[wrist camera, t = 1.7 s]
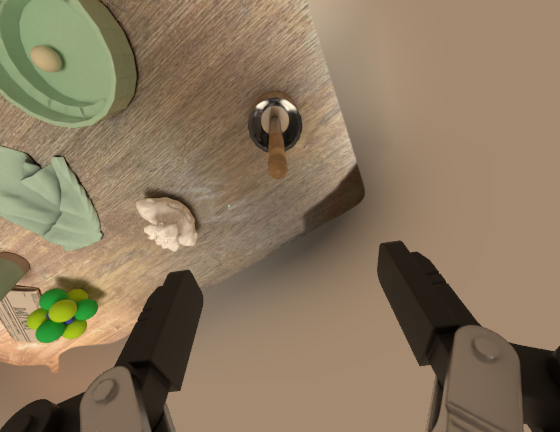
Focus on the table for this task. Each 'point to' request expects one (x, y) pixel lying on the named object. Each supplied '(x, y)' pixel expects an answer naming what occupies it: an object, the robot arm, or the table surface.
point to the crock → (256, 129)
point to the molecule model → (61, 315)
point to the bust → (168, 222)
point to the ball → (46, 59)
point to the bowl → (65, 61)
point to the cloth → (47, 200)
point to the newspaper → (20, 312)
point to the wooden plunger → (276, 138)
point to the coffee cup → (11, 271)
